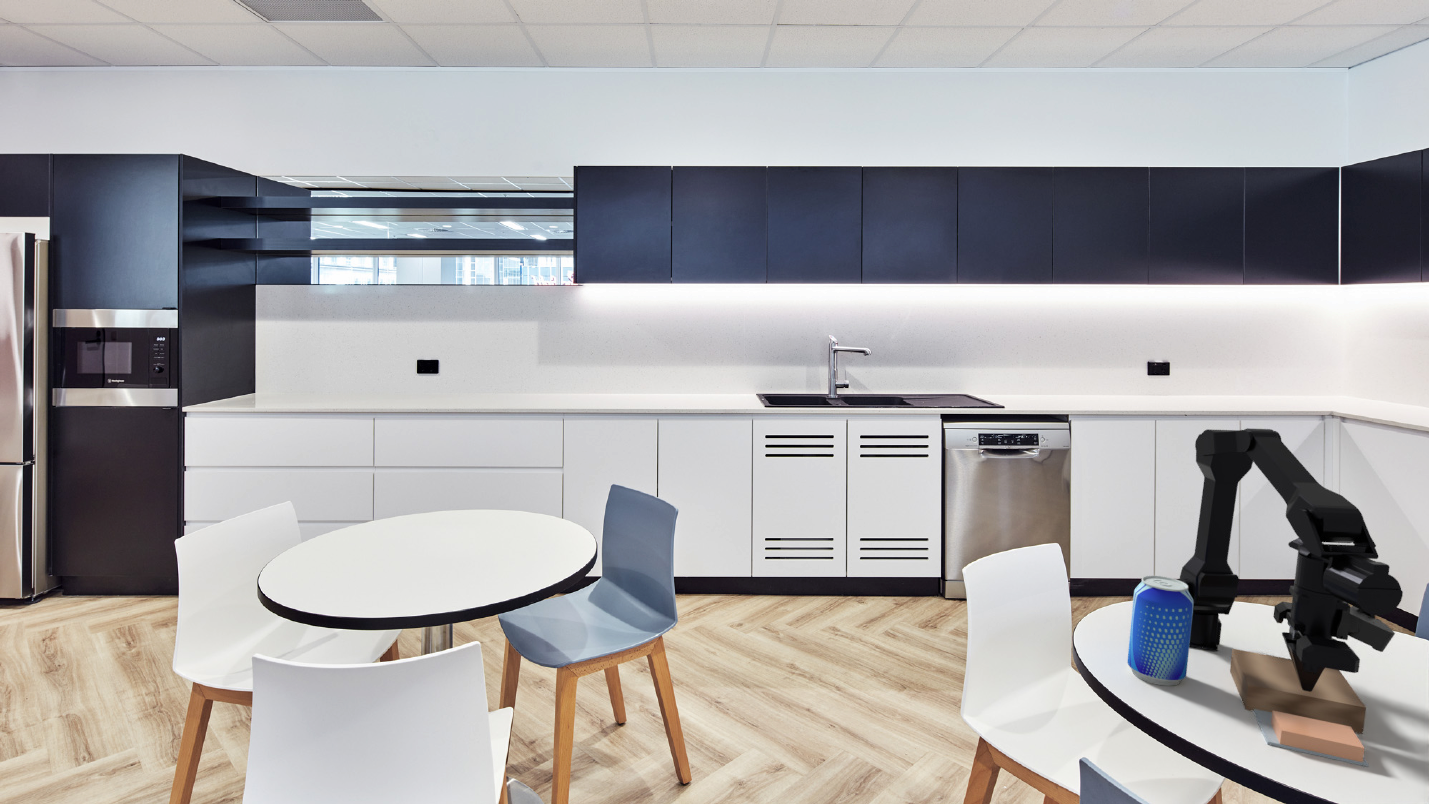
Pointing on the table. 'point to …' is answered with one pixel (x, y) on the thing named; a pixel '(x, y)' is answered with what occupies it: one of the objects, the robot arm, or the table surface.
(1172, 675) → the beer can
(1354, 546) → the robot arm
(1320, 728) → the peach rectangular block
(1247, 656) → the brown box
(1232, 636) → the table surface
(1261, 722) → the mat
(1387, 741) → the table surface
